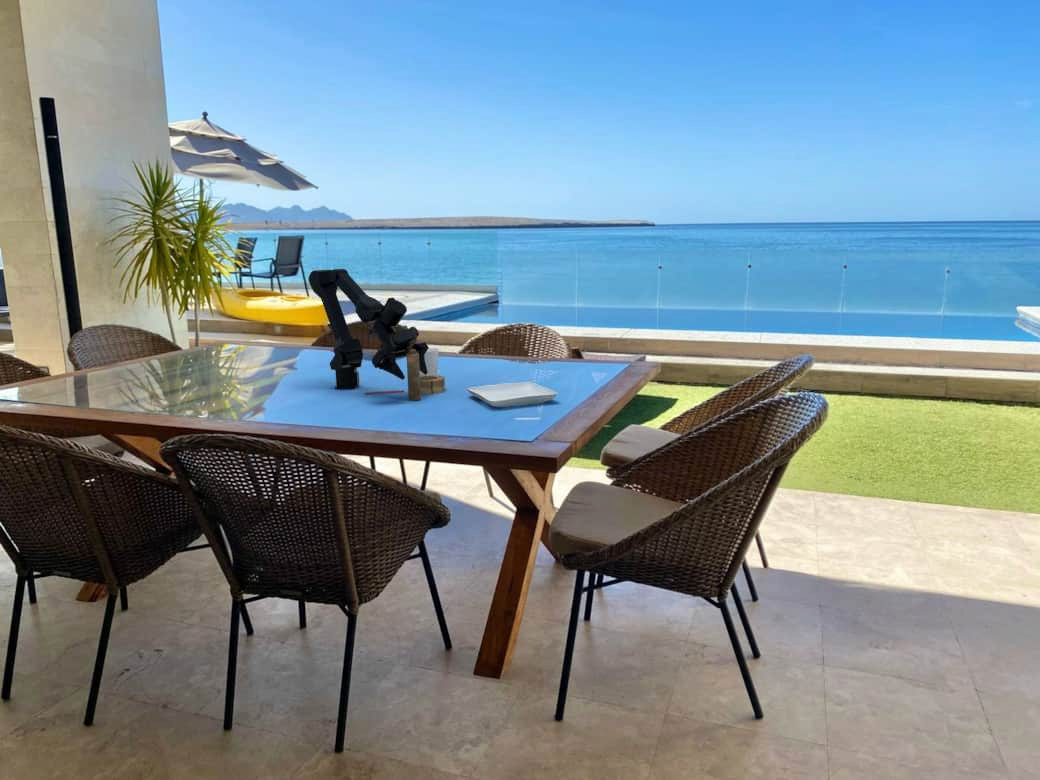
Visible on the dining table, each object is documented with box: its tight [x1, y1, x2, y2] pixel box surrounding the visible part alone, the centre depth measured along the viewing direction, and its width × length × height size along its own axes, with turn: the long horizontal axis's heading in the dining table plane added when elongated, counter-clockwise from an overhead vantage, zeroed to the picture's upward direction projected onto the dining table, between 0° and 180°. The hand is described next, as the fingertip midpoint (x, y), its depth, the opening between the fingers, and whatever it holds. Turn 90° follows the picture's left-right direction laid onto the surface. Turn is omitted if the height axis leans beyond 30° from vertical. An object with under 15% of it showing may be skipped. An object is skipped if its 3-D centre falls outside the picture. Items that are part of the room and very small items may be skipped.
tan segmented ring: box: [420, 374, 446, 395], centre depth 242 cm, size 10×10×4 cm
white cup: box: [420, 347, 439, 376], centre depth 261 cm, size 8×8×10 cm
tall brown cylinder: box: [406, 348, 422, 402], centre depth 228 cm, size 4×4×15 cm
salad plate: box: [467, 381, 559, 408], centre depth 227 cm, size 21×21×3 cm
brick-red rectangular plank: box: [364, 389, 405, 395], centre depth 240 cm, size 12×1×1 cm, turn 100°
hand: (415, 376), depth 228 cm, fingers open, 9 cm apart
